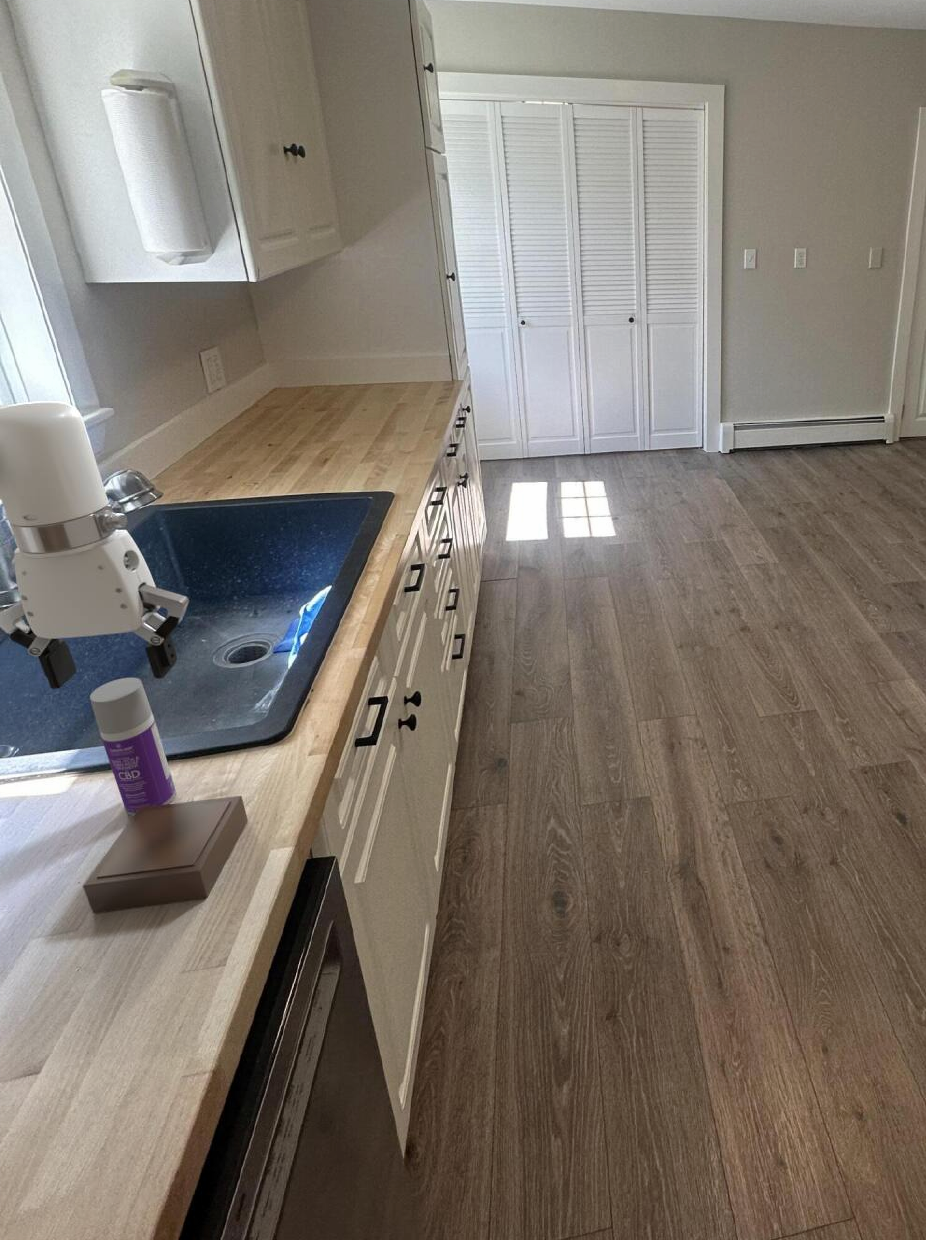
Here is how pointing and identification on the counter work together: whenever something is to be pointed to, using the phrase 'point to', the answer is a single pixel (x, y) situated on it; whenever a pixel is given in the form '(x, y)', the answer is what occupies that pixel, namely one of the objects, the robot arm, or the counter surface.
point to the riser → (167, 854)
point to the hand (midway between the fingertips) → (116, 675)
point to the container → (132, 744)
